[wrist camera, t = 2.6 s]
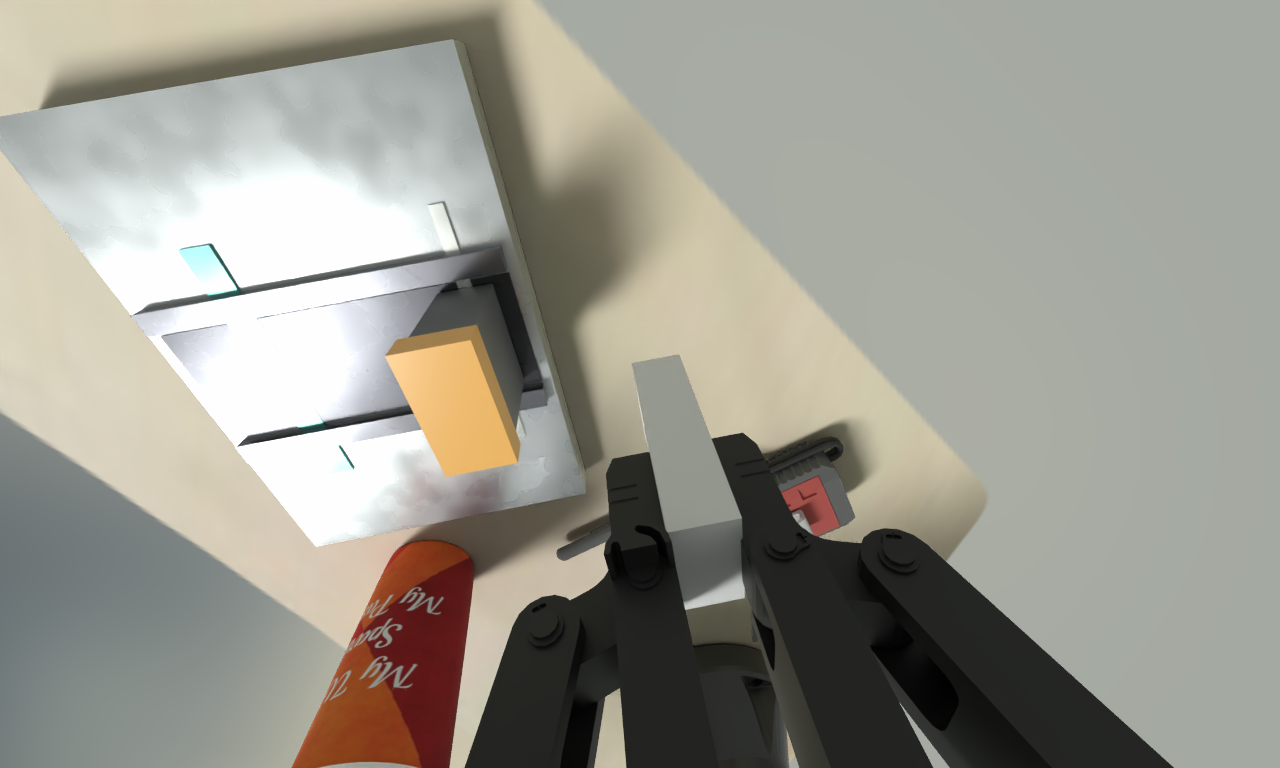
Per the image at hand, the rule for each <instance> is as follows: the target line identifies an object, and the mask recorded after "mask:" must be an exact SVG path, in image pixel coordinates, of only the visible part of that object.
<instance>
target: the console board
mask: <svg viewBox="0 0 1280 768" xmlns="http://www.w3.org/2000/svg"><path fill="white" fill-rule="evenodd" d="M0 150H1V152H2V153H3V154H4V155H5V157H6V158H7V159H8V160H9V162H10V163H11V164H12V165H13V167H14V168H15V169H16V170H17V172H18V173H19V174H20V175H21V177H22V178H23V179H24V180H25V182H26V183H27V184H28V185H29V187H30V188H31V189H32V191H33V192H34V193H35V194H36V196H37V197H38V198H39V199H40V201H41V202H42V203H43V204H44V206H45V207H46V208H47V209H48V211H49V212H50V213H51V214H52V216H53V217H54V218H55V219H56V221H57V222H58V223H59V224H60V226H61V227H62V228H63V229H64V231H65V232H66V233H67V234H68V236H69V237H70V238H71V240H72V241H73V242H74V243H75V245H76V246H77V247H78V248H79V250H80V251H81V252H82V253H83V255H84V256H85V257H86V258H87V260H88V261H89V262H90V263H91V265H92V266H93V267H94V268H95V270H96V271H97V272H98V273H99V275H100V276H101V277H102V278H103V280H104V281H105V282H106V283H107V285H108V286H109V287H110V289H111V290H112V291H113V292H114V294H115V295H116V296H117V297H118V299H119V300H120V301H121V302H122V304H123V305H124V306H125V307H126V309H127V310H128V311H129V312H130V314H131V318H132V319H133V320H134V321H135V323H136V324H137V325H138V326H139V328H140V329H141V330H142V331H143V333H144V334H145V335H146V336H147V338H150V339H151V340H152V341H153V343H154V344H155V345H156V346H157V348H158V349H159V350H160V351H161V353H162V354H163V355H164V356H165V358H166V359H167V360H168V361H169V363H170V364H171V365H172V366H173V368H174V369H175V370H176V371H177V373H178V374H179V375H180V376H181V378H182V379H183V380H184V382H185V383H186V384H187V385H188V387H189V388H190V389H191V390H192V392H193V393H194V394H195V395H196V397H197V398H198V399H199V400H200V402H201V403H202V404H203V405H204V407H205V408H206V409H207V410H208V412H209V413H210V414H211V415H212V417H213V418H214V419H215V420H216V422H217V423H218V424H219V426H220V427H221V428H222V429H223V431H224V432H225V433H226V434H227V436H228V437H229V438H230V439H231V441H232V442H233V443H234V444H235V446H236V449H237V450H238V452H239V453H240V454H241V455H242V457H243V458H244V459H245V460H246V462H247V463H250V464H251V466H252V467H253V468H254V469H255V471H256V472H257V473H258V475H259V476H260V477H261V478H262V480H263V481H264V482H265V483H266V485H267V486H268V487H269V488H270V490H271V491H272V492H273V493H274V495H275V496H276V497H277V498H278V500H279V501H280V502H281V503H282V505H283V506H284V507H285V508H286V510H287V511H288V512H289V513H290V515H291V516H292V517H293V519H294V520H295V521H296V522H297V524H298V525H299V526H300V527H301V529H302V530H303V531H304V532H305V534H306V535H307V536H308V537H309V539H310V540H311V541H312V542H313V544H314V545H315V546H316V547H317V546H322V545H327V544H332V543H337V542H342V541H347V540H353V539H358V538H363V537H368V536H373V535H378V534H383V533H388V532H393V531H398V530H404V529H409V528H414V527H419V526H424V525H429V524H434V523H439V522H444V521H449V520H455V519H460V518H465V517H470V516H475V515H480V514H485V513H490V512H495V511H500V510H505V509H511V508H516V507H521V506H526V505H531V504H536V503H541V502H546V501H551V500H556V499H562V498H567V497H572V496H577V495H582V494H586V475H585V468H584V464H583V461H582V457H581V454H580V450H579V447H578V443H577V440H576V436H575V432H574V429H573V425H572V422H571V418H570V415H569V411H568V408H567V404H566V401H565V397H564V394H563V390H562V387H561V383H560V380H559V376H558V372H557V369H556V365H555V362H554V358H553V355H552V351H551V348H550V344H549V341H548V337H547V334H546V330H545V327H544V323H543V320H542V316H541V313H540V309H539V305H538V302H537V298H536V295H535V291H534V288H533V284H532V281H531V277H530V274H529V270H528V267H527V263H526V260H525V256H524V253H523V249H522V245H521V242H520V238H519V235H518V231H517V228H516V224H515V221H514V217H513V214H512V210H511V207H510V203H509V200H508V196H507V193H506V189H505V186H504V182H503V178H502V175H501V171H500V168H499V164H498V161H497V157H496V154H495V150H494V147H493V143H492V140H491V136H490V133H489V129H488V126H487V122H486V118H485V115H484V111H483V108H482V104H481V101H480V97H479V94H478V90H477V87H476V83H475V80H474V76H473V73H472V69H471V66H470V62H469V58H468V55H467V51H466V48H465V44H464V43H462V42H459V41H457V40H454V39H450V40H444V41H438V42H433V43H427V44H421V45H415V46H409V47H403V48H398V49H392V50H386V51H380V52H374V53H368V54H363V55H357V56H351V57H345V58H339V59H333V60H328V61H322V62H316V63H310V64H304V65H298V66H293V67H287V68H281V69H275V70H269V71H263V72H258V73H252V74H246V75H240V76H234V77H228V78H223V79H217V80H211V81H205V82H199V83H193V84H188V85H182V86H176V87H170V88H164V89H158V90H153V91H147V92H141V93H135V94H129V95H123V96H118V97H112V98H106V99H100V100H94V101H88V102H83V103H77V104H71V105H65V106H59V107H53V108H48V109H42V110H36V111H30V112H24V113H18V114H13V115H7V116H1V117H0ZM491 283H493V286H494V289H495V292H496V295H497V298H498V301H499V304H500V307H501V310H502V313H503V316H504V319H505V322H506V325H507V329H508V332H509V335H510V338H511V341H512V344H513V347H514V350H515V353H516V356H517V359H518V362H519V365H520V368H521V371H522V374H523V377H524V385H523V391H522V397H521V403H520V409H519V416H518V422H517V428H516V432H517V435H518V438H519V440H520V443H521V445H520V452H519V459H518V463H516V464H511V465H506V466H501V467H496V468H490V469H485V470H480V471H475V472H470V473H465V474H459V475H454V476H449V477H446V476H445V474H444V472H443V470H442V468H441V466H440V464H439V462H438V460H437V458H436V456H435V454H434V453H433V451H432V449H431V447H430V445H429V443H428V441H427V439H426V437H425V435H424V433H423V431H422V429H421V427H420V425H419V423H418V421H417V419H416V417H415V415H414V413H413V411H412V409H411V407H410V405H409V403H408V401H407V399H406V397H405V395H404V393H403V391H402V389H401V387H400V385H399V383H398V381H397V379H396V377H395V375H394V373H393V371H392V369H391V367H390V365H389V363H388V361H387V359H386V357H385V355H386V354H387V352H388V351H389V350H390V348H391V347H392V345H393V344H394V342H395V341H396V340H397V339H403V338H408V337H409V336H410V335H411V333H412V332H413V330H414V329H415V327H416V325H417V324H418V322H419V321H420V319H421V318H422V316H423V315H424V313H425V312H426V310H427V309H428V307H429V306H430V304H431V303H432V301H433V300H434V298H435V296H436V295H437V293H442V292H447V291H453V290H458V289H464V288H469V287H475V286H480V285H485V284H491Z"/></svg>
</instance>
